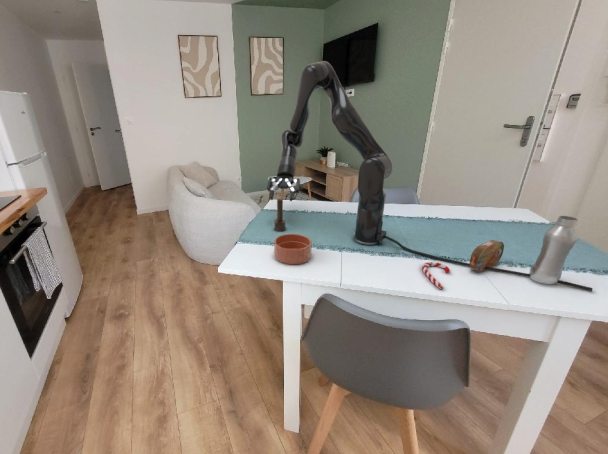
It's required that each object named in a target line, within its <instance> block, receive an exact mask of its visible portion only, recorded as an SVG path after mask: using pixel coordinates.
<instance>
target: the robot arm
mask: <svg viewBox="0 0 608 454" xmlns="http://www.w3.org/2000/svg"><path fill="white" fill-rule="evenodd" d="M300 74H301V75H300V78H299V85H298V91H297V96H296V103H295V107H294V110H293V114H292V116H291V119H290V121H289V129H284V130H283V131H282V133H281V136H280V145H281V156H280V159H279V163H278V168H277V173H276V176H275V178H273V177H270V176H269V178H268V181H267V184H266V185H267V186H266V190H267V192H269V199H270V200H271V201H273V200H274V195H275V192H276V191H278V190H279V189H281V190H283V189H284V190H288V189H289V192H290V195H289V202H293V201H294V198H295V194H299V193H300V189H301V179H300V178H296V179H294V178H295V173H296V172H295V171H296V168H297V167H296V166H297V158H298V150H297V148H300V147H301V146H302V145H303V143H304V133H305V128H306V125H307V124H308V121H309V119H310V113H311V110H310V109H311V108H310V104H309V103H310V98H311V96H312V94H313V93H314V91H316V90H320V89H322V90H323V91H324V93H325V94H326V96H327V97H328V100H329V103H330V104H329V105H330V120H331V123H332V124H333V126H334V128H335V129H336V131H337V132H338V134H339V135H340V137H342V139H344V141H346V142H347V143H348V144H349V145H350V146H352V148H354V149H355V150H357V152H358V153H359V154H360V156H361V158H362V159H363V160H362V161H361V163H360V164H359V165H360V166H359V168H358V175H357V177H358V179H357V192H358V200H357V201H358V203H357V209H356V210H357V211H356V220H355V228H354V237H353V240H354V241H355V242H356V243H358V244H360V245H364V246H376V245H381V242H383V241H384V240H385V239H386V240H389V241H390V242H392V243H395V244H396V245H397V246H398V247H400V248H401V249H403V250H405V251H406V252H410V253H413V254H416V255H420V256H424V257H428V258H431V259H435V260H439V261H443V262H447V263H451V264H457V265H462V266H467V267H470V266H469V264H470V262H464V261H458V260H455V259H449V258H445V257H441V256H436V255H434V254H429V253H426V252H423V251H422V252H421V251H418V250H415V249H411V248H408V247H407V246H404V245H403V244H402V243H400V241H398V240H396V239H394V238H392V237H389V236H387V230H383V226H384V225H383V224H384V220H383V219H384V213H385V211H384V210H385V204H386V198H387V193H386V192H385V190H384V183H385V179H387V178H388V177H390V176H391V175H392V173H393V171H394V164H393V161H392V159H391V157H390V156H389V155H388V154H387V153H386V151H385V150H384V149H383V147H382V146H381V145H380V144H379V142H377V140H376V139H375V137H374V135H373V133H372V132H371V131H370V129H369V127H368V126H367V124H366V122H365V121H364V119H363V118H362V115H361V114H360V112H359V111H358V109H357V108H356V107H355V105H354V104H353V102H352V101H351V99H350V97H349V95H348V94H347V92H346V91H345V89H344V87H343V86H342V84H341V82H340V80H339V77H338V75H337V73H336V71H335V69H334V67H333V66H332V65H331V63H329V61H326V60H321V61H316V62H313V63H312V62H311V63H309V64H306V65H305V66H304V67H303V69H302V72H301V73H300ZM294 184H295V188H294V187H293V185H294ZM485 269H487V270H488V271H492V272H493V271H494V272H499V273H505V274H511V275H517V276H522V277H528V278H531V277H530V275H529V273H527V272H526V273H525V272H521V271H515V270H510V269H503V268H497V267H485ZM487 270H486V271H487ZM557 284H561V285H565V286H569V287H573V288H577V289H581V290H586V291H588V292H589V291H590V292H592V291H593V290H594V289H593V287H591V286H586V285H581V284H578V283H573V282H569V281H565V280H561V279H560V280H559V281H558V282H557Z"/></svg>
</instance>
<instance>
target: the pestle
mask: <svg viewBox="0 0 608 454" xmlns="http://www.w3.org/2000/svg"><path fill="white" fill-rule="evenodd" d="M274 231H275V232H284V231H286V220H285V219H284V199H283V198H277V199H276V219H275V220H274Z"/></svg>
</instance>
